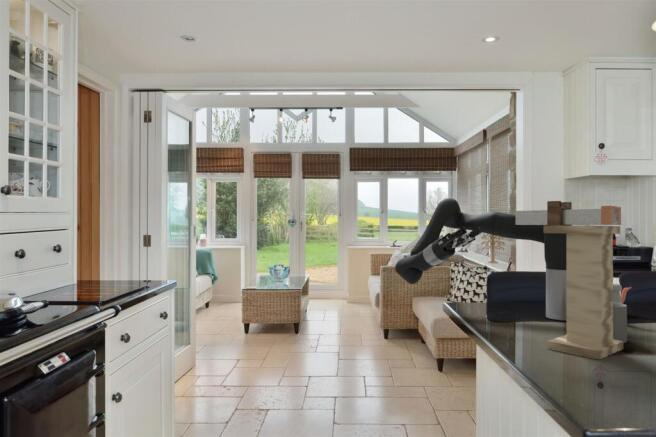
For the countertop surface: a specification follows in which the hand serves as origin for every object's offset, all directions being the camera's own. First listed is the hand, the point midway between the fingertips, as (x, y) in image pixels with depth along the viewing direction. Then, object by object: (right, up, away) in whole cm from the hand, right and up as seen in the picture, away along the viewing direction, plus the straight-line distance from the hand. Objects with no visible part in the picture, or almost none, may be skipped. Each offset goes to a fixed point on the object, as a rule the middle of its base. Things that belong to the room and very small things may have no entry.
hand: (472, 229), depth 146 cm
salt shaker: (+48, -32, 0) cm, 57 cm away
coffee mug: (+31, -31, -21) cm, 48 cm away
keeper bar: (+15, +2, -28) cm, 32 cm away
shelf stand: (+18, -30, -32) cm, 48 cm away
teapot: (+54, -32, +18) cm, 66 cm away
